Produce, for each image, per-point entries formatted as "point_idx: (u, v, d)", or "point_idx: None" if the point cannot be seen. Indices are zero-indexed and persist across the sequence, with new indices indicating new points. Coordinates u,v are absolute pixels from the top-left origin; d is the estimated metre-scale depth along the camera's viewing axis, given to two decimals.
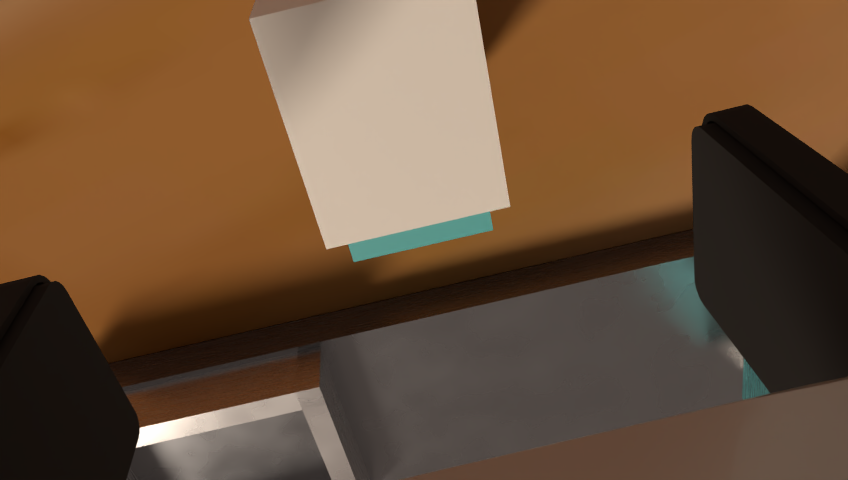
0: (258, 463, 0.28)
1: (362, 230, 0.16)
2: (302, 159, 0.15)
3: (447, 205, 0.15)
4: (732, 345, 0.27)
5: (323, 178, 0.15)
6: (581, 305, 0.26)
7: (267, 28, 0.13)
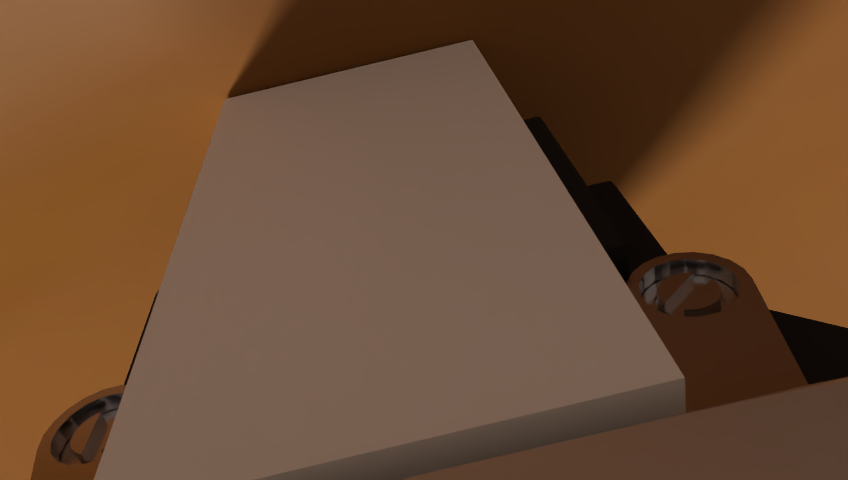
0: None
1: None
2: None
3: None
4: None
5: None
6: None
7: None
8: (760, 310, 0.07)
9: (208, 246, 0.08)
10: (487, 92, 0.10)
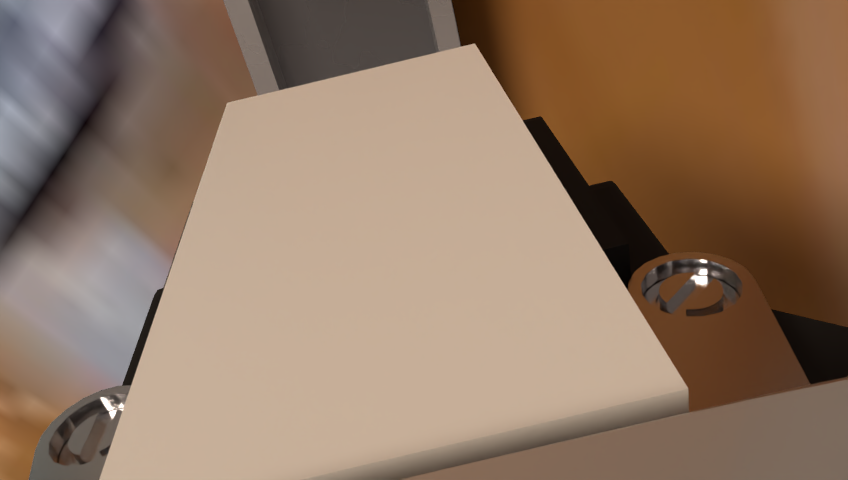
0: (320, 25, 0.28)
1: None
2: None
3: None
4: None
5: None
6: None
7: None
8: (763, 310, 0.07)
9: (210, 252, 0.08)
10: (489, 97, 0.10)
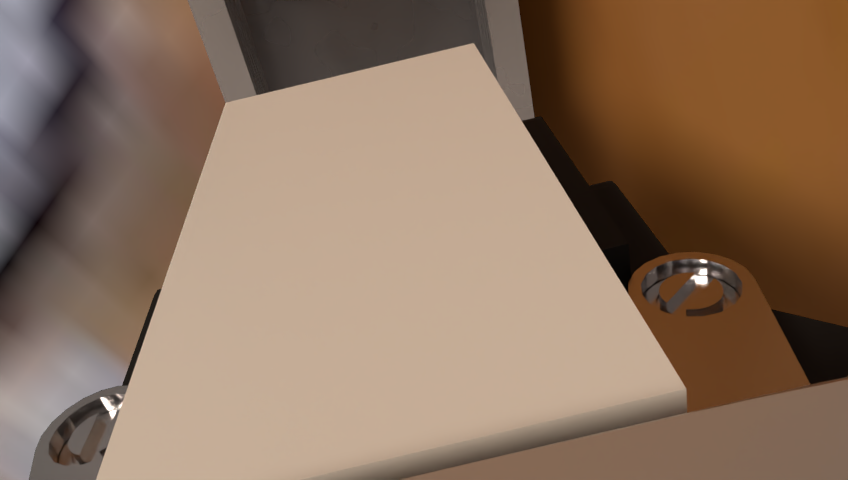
0: None
1: None
2: None
3: None
4: None
5: None
6: None
7: None
8: (763, 309, 0.07)
9: (208, 252, 0.08)
10: (488, 96, 0.10)
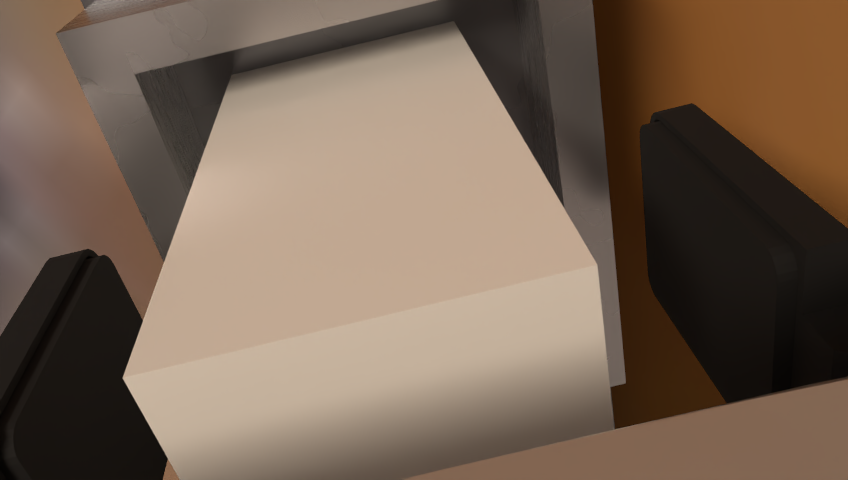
0: None
1: None
2: None
3: None
4: None
5: None
6: None
7: (164, 392, 0.06)
8: None
9: (219, 189, 0.09)
10: (463, 64, 0.11)
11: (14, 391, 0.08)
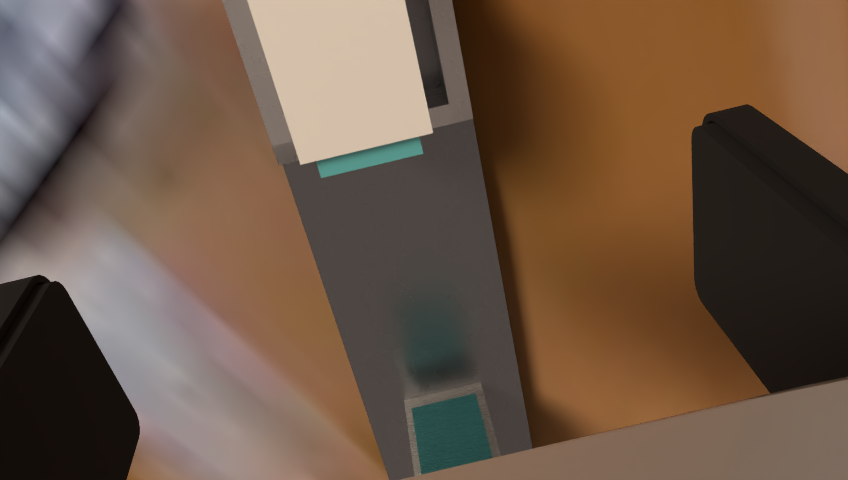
0: None
1: (326, 150, 0.21)
2: (282, 95, 0.20)
3: (387, 131, 0.21)
4: (431, 386, 0.37)
5: (297, 110, 0.21)
6: (481, 285, 0.34)
7: (257, 0, 0.19)
8: None
9: None
10: None
11: None
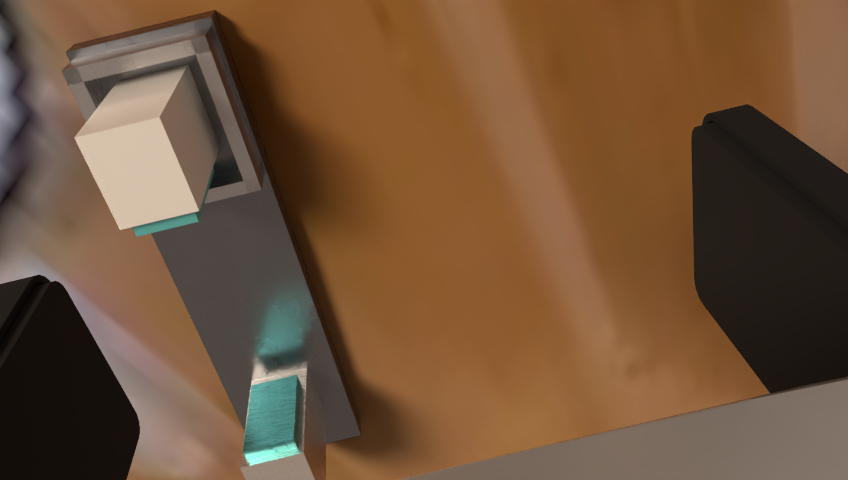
0: None
1: (134, 221, 0.36)
2: (103, 191, 0.35)
3: (170, 210, 0.36)
4: (270, 370, 0.52)
5: (114, 199, 0.35)
6: (295, 298, 0.49)
7: (82, 141, 0.34)
8: None
9: (101, 110, 0.36)
10: (176, 79, 0.38)
11: None
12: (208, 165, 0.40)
